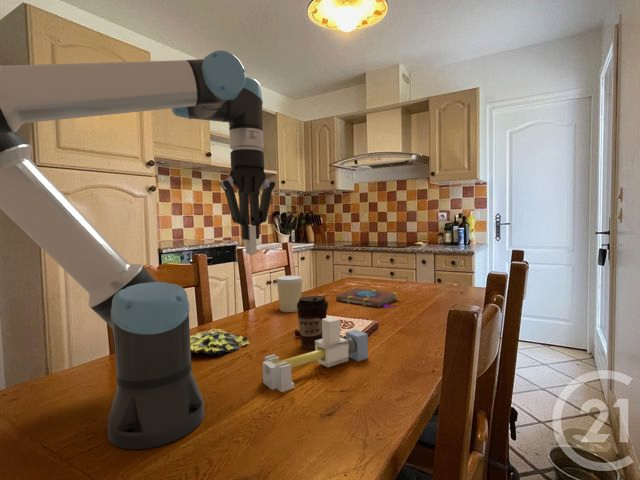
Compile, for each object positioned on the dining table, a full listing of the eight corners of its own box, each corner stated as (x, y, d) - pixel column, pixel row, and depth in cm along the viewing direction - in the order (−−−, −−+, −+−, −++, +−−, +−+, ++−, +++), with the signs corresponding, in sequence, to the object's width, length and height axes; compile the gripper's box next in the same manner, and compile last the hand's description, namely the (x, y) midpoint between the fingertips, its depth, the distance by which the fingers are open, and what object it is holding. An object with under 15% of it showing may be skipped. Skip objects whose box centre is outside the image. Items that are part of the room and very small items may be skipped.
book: (389, 314, 131) (389, 300, 130) (334, 304, 146) (334, 292, 146) (410, 302, 143) (409, 289, 143) (357, 294, 159) (356, 283, 158)
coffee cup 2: (325, 352, 93) (324, 302, 92) (294, 350, 94) (292, 301, 93) (331, 340, 101) (330, 294, 100) (302, 339, 103) (301, 293, 102)
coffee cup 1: (307, 308, 137) (307, 276, 136) (293, 314, 129) (292, 280, 128) (288, 305, 142) (287, 274, 141) (272, 310, 134) (271, 278, 133)
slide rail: (277, 393, 72) (275, 364, 71) (259, 379, 78) (257, 352, 78) (373, 360, 87) (372, 335, 86) (351, 350, 93) (350, 327, 93)
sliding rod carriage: (327, 367, 81) (326, 324, 80) (315, 360, 85) (314, 319, 84) (348, 360, 84) (347, 319, 84) (335, 354, 88) (334, 314, 88)
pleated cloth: (160, 352, 99) (162, 327, 101) (211, 350, 112) (212, 328, 113) (203, 356, 87) (205, 328, 89) (255, 353, 100) (256, 328, 101)
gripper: (225, 145, 76) (230, 257, 78) (280, 150, 84) (283, 252, 85) (213, 151, 82) (218, 254, 84) (265, 155, 90) (268, 250, 91)
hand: (251, 253), depth 85 cm, fingers closed
